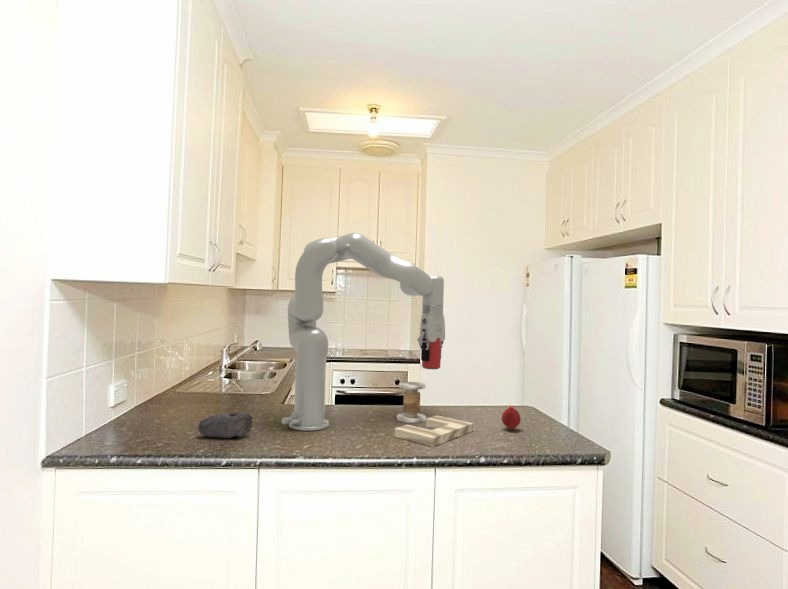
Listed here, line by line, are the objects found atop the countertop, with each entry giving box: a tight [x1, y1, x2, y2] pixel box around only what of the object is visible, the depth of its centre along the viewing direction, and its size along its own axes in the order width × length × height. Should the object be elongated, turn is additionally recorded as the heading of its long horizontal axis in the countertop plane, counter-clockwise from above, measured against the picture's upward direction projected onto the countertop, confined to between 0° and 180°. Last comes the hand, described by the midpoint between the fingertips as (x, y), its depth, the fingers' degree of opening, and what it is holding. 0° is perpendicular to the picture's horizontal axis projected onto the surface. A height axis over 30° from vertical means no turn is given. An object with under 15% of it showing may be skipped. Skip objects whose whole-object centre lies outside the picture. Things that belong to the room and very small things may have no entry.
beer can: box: [421, 337, 442, 370], centre depth 173 cm, size 7×7×12 cm
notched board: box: [394, 415, 474, 448], centre depth 148 cm, size 22×14×2 cm, turn 140°
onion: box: [501, 404, 521, 431], centre depth 155 cm, size 6×6×8 cm
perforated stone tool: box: [197, 412, 253, 439], centre depth 139 cm, size 15×5×7 cm, turn 91°
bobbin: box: [396, 381, 427, 424], centre depth 165 cm, size 10×10×12 cm
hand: (431, 359), depth 173 cm, fingers closed on beer can, 6 cm apart
